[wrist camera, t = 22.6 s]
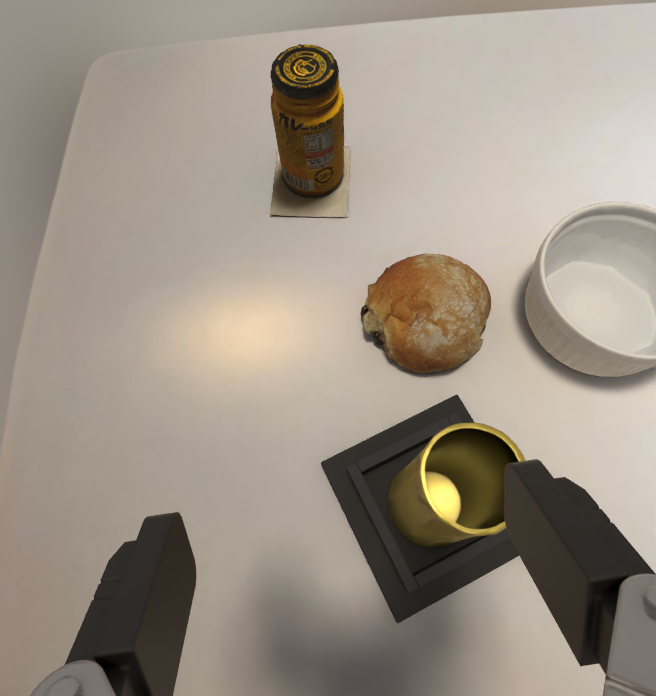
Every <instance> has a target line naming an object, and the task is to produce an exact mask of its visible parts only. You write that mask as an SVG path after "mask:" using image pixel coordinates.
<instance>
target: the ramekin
mask: <svg viewBox="0 0 656 696" xmlns="http://www.w3.org/2000/svg"><path fill="white" fill-rule="evenodd" d="M525 297H526V299H525V307H526V309H525V312H526V315H527V320H528V322H529V325H530V328H531V330H532V332H533V333H534V336H535V337H536V339H537V340H538V341H539V343H540V344H541V346H543V347H544V349H545V350H546V351H547V352H548V353H549V354H551V355H552V356H553V357H554V358H555V359H557V360H558V361H560V362H561V363H562V364H564V365H566V366H568V367H570V368H572V369H575V370H577V371H580V372H582V373H587V374H589V375H596V376H600V377H603V376H607V377H615V376H625V375H628V374H635V373H638V372H641V371H644V370H646V369H649V368H652V367H654V366H656V209H654V208H651V207H648V206H644V205H639V204H634V203H626V202H607V203H599V204H594V205H590V206H587V207H583V208H581V209H579V210H577V211H575V212H573V213H571V214H569V215H568V216H566V217H565V218H563V219H562V220H561V221H560V222H559V223H558V224H557V225H556V226H555V227H554V228H553V229H552V230H551V231H550V233H549V234H548V236H547V237H546V238H545V240H544V241H543V243H542V245H541V247H540V249H539V251H538V254H537V257H536V261H535V266H534V269H533V272H532V274H531V277H530V280H529V282H528V286H527V290H526V295H525Z"/></svg>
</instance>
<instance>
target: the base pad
mask: <svg viewBox="0 0 656 696" xmlns="http://www.w3.org/2000/svg"><path fill="white" fill-rule="evenodd" d="M458 423H474V421H473V419H472V418H471V416H470V414H469V413H468V411H467V410H466V408H465V406H464V405H463V403H462V401H461V400H460V398H459V396H458V395H455V396H453V397H451V398H449V399H447V400H445V401H443V402H441V403H439V404H437V405H435V406H433V407H431V408H429V409H427V410H425V411H423V412H421V413H419V414H417V415H415V416H413V417H411V418H409V419H407V420H405V421H403V422H401V423H399V424H397V425H395V426H393V427H391V428H389V429H387V430H385V431H383V432H381V433H379V434H377V435H375V436H373V437H371V438H369V439H367V440H365V441H363V442H361V443H359V444H357V445H355V446H353V447H351V448H349V449H347V450H345V451H343V452H341V453H339V454H337V455H335V456H333V457H331V458H329V459H327V460H325V461H323V462H321V465H322V467H323V469H324V471H325V473H326V476H327V478H328V480H329V482H330V484H331V486H332V488H333V490H334V492H335V494H336V496H337V499H338V501H339V503H340V505H341V507H342V509H343V511H344V513H345V515H346V517H347V520H348V522H349V524H350V526H351V528H352V530H353V532H354V534H355V536H356V538H357V540H358V543H359V545H360V547H361V549H362V551H363V553H364V555H365V557H366V559H367V561H368V564H369V566H370V568H371V570H372V572H373V574H374V576H375V578H376V580H377V582H378V584H379V587H380V589H381V591H382V593H383V595H384V597H385V599H386V601H387V603H388V605H389V608H390V610H391V612H392V614H393V616H394V618H395V620H396V622H397V623H399V622H401V621H403V620H405V619H406V618H408V617H410V616H412V615H414V614H415V613H417V612H419V611H421V610H423V609H424V608H426V607H428V606H430V605H431V604H433V603H435V602H437V601H439V600H440V599H442V598H444V597H446V596H448V595H449V594H451V593H453V592H455V591H457V590H458V589H460V588H462V587H464V586H465V585H467V584H469V583H471V582H473V581H474V580H476V579H478V578H480V577H482V576H483V575H485V574H487V573H489V572H491V571H492V570H494V569H496V568H498V567H500V566H501V565H503V564H505V563H507V562H508V561H510V560H512V559H514V558H516V557H517V556H519V554H518V552H517V550H516V548H515V546H514V545H513V543H512V541H511V539H510V537H509V534H508V531H507V528H505V529H504V530H502V531H501V532H499V533H497V534H493V535H486V536H476V537H471V538H467V539H464V540H460V541H457V542H454V543H451V544H449V545H448V546H442V547H424V546H420V545H418V544H416V543H414V542H412V541H410V540H408V539H407V538H406V537H404V536H403V535H402V534H401V533H400V531H399V530H398V529H397V527H396V526H395V524H394V522H393V520H392V518H391V515H390V511H389V506H388V495H389V490H390V486H391V484H392V482H393V480H394V478H395V477H396V475H397V474H398V473H399V472H400V471H401V470H402V469H403V468H404V467H406V466H407V465H408V464H409V463H410V462H411V461H412V460H414V459H415V458H416V457H417V456H418V454H419V453H420V452H421V451H422V450H423V449H424V448H425V447H426V446H427V445H428V443H429V442H430V441H431V439H432V438H433V436H434V435H435V434H437V433H438V432H440V431H441V430H443V429H445V428H447V427H449V426H451V425H454V424H458Z"/></svg>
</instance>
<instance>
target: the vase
mask: <svg viewBox="0 0 656 696" xmlns="http://www.w3.org/2000/svg"><path fill="white" fill-rule="evenodd" d="M522 461H526V460H525V458H524V456H523V454H522V453H521V451H520V449H519V448H518V447H517V446H516V444H515V443H514V442H513V441H512V440H511V439H510V438H509V437H508V436H507V435H506V434H504V433H503V432H501V431H499V430H497V429H495V428H493V427H490V426H488V425H484V424H480V423H458V424H454V425H451V426H449V427H447V428H445V429H443V430H441V431H440V432H438V433H437V434H435V435H434V436H433V438H432V439H431V441H430V442H429V443H428V445H427V446H426V447H425V448H424V449H423V450H422V451H421V452H420V453H419V454H418V456H417V457H416V458H415V459H414V460H412V461H411V462H410V463H409V464H408V465H407V466H406V467H404V468H403V469H402V470H401V471H400V472H399V473H398V474H397V475H396V477H395V478H394V480H393V482H392V484H391V486H390V490H389V495H388V506H389V511H390V515H391V518H392V520H393V522H394V524H395V526H396V527H397V529H398V530H399V531H400V533H401V534H402V535H403V536H404V537H406V538H407V539H408V540H410V541H412V542H414V543H416V544H418V545H420V546H424V547H442V546H448V545H449V544H451V543H454V542H457V541H460V540H464V539H467V538H471V537H476V536H486V535H493V534H497V533H499V532H501V531H502V530H504V529H505V528H506V524H505V519H504V469H505V465H506V464H508V463H515V462H522Z"/></svg>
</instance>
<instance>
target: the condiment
mask: <svg viewBox="0 0 656 696" xmlns="http://www.w3.org/2000/svg"><path fill="white" fill-rule="evenodd" d="M338 72H339V70H338V66H337V62H336V60H335V59H334V57H333V55H332V54H331V53H330V52H329V51H327V50H325V49H323V48H321V47H318V46H314V45H300V44H299V45H298V46H294V47H291V48H288V49H287V50H285V51H284V52H282V53H280V54H279V55H278V56H277V58H276V59H275V61H274V62H273V64H272V70H271V79H272V83H273V84H272V88H273V93H272V96H271V110H272V115H273V121H274V127H275V132H276V138H277V144H278V151H277V161H276V169H275V177H274V184H273V193H272V202H271V210H270V214H271V215H281V216H308V217H347V209H348V187H349V166H350V146H349V147H344V124H343V121H344V118H343V117H344V114H343V113H344V104H343V93H342V90H341V88H340V86H339V78H338Z"/></svg>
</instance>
